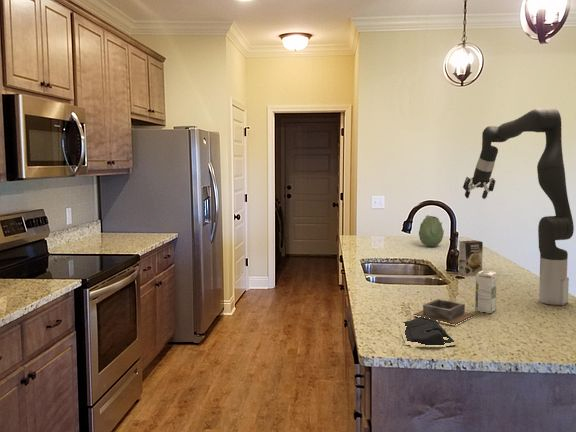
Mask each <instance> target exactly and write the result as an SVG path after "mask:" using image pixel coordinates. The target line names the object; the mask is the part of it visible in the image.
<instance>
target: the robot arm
mask: <svg viewBox="0 0 576 432" xmlns="http://www.w3.org/2000/svg"><path fill="white" fill-rule="evenodd" d="M524 132H525V133H526V132H527V133H528V132H529V133H530V132H531V133H532V132H533V133H545V147H544V149H543V152H542V154H541V156H540V158H539V161H538V162H537V167H536V169H537V180H538V181H537V182H538V184H539V186H540V188H541V190H542V191H543V192H544V193H545V195H546V196H547V197H548V199H549V200H550V202H551V204H552V205H553V208H554V209H553V210H554V213H555V215H549V216H548V215H545V216H543V217H541V219H539V222H538V227H537V228H538V229H537V231H538V236H537V237H538V250H539V255H540V256H539V283H538V285H539V289H538V290H539V291H538V292H539V293H538V299H539V300H538V301H539V302H540V303H543V304H547V305H555V306H564V305H565V304H567V303H569V290H570V289H569V286H570V285H569V282H570V279H569V277H568V255H569V254H568V251H567V250H565V249H563V248H559V247H558V246H557V245H556V241H565V240H570V239H571V238H573V234H574V230H575V226H574V219H573V217H572V216H573V215H572V211H571V208H570V202H569V197H568V190H567V182H566V179H567V178H566V172H565V171H566V170H565V164H564V157H563V156H564V155H563V143H562V117H561V113H560V111H559V110H558V109H557V108H551V107H547V108H546V107H545V108H544V107H539V108H534V109H531V110H529V111H528V112H527V113H525V114H523V115H522V116H519V117H518V118H515V119H513V120H510V121H507V122H504V123H502V124H500V125H499V126H489V125H488V126H487V127H485V128H484V129H483V130H482V135H481V137H482V138H481V140H482V141H481V151H480V154H479V158H478V160H477V162H476V165H475V169H474V172H473V175H472V176H473V177H472V178H471V177H468V176H466V177H465V180H464V183H463V185H462V188H463V189H464V191H465V193H464V196H465V199H469V198H470V194H471V191H472V190H474V189H477V188H478V189H479V188H480V189H481V188H483V189H484V190H483V192H482V195H481V198H482V199H483V200H486V198H488V194H489V193H490V192H493V191H494V188H495V184H496V180H495V178H493V177H491V176H492V174H493V170H494V167H495V163H496V160H497V156H498V153H499V149H498V147H497V146H495V145H492V143H504V142H506V141H508V140H509V139H513V138H516V137H518V136H520V135H521V134H523V133H524ZM488 184H489V185H488Z"/></svg>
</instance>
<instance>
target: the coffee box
mask: <svg viewBox="0 0 576 432" xmlns="http://www.w3.org/2000/svg"><path fill="white" fill-rule="evenodd" d="M458 242H459V243H458V244H459V245H458V246H459V249H458V274H459V275H462V276H464V277H471V276H470V275H472V276H476V274H477V273H478V272H480V271H483V252H484V251H483V241H481V240H473V239H472V240H460V241H458Z"/></svg>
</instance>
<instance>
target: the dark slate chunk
mask: <svg viewBox="0 0 576 432" xmlns="http://www.w3.org/2000/svg"><path fill="white" fill-rule="evenodd" d="M402 323H405V326H407V327H406V330H405V335H406V338H407V341H411V342H418V343H421V344H425V345H444V344H445V343H451V342H454V341H455V340H454V339H453V337H451V336H450V335H449V334H447V331H446V330H445V329H444V328H443V327H442V326H441V325H440V323H438V322H437V321H436V320H434V319H429V318H424V317H419V318H416V317H415V318H413V319H410V320H407V321H404V322H402ZM443 337H447V338H449V339H448V340H444V339H443ZM444 342H445V343H444Z"/></svg>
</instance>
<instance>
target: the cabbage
mask: <svg viewBox="0 0 576 432" xmlns="http://www.w3.org/2000/svg"><path fill="white" fill-rule="evenodd" d="M444 234H445V231H444V229H443V223H442V221H440V219H439V217H438V216H433V215H425V218H424V219H423V220H422V222H420V226H419V231H418V237H419V240H420V242H421V243H422V244H423V246H424V245H425V246H426V247H429V248H435V247H437V246H439V244H441V242H442V241H443V238H444Z"/></svg>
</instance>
